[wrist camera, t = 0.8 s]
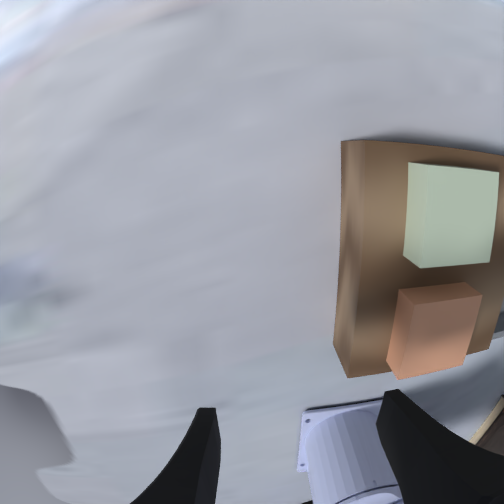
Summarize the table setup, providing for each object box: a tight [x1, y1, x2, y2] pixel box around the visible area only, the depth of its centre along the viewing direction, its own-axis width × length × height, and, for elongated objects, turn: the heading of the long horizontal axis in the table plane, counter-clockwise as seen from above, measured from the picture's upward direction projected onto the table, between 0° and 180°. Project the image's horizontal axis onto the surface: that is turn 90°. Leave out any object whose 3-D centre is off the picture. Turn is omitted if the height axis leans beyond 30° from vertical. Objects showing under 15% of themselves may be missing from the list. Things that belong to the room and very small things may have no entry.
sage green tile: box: [403, 162, 499, 268], centre depth 15 cm, size 5×5×2 cm
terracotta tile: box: [386, 282, 483, 380], centre depth 17 cm, size 5×5×2 cm
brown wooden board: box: [333, 140, 504, 378], centre depth 19 cm, size 14×12×4 cm
